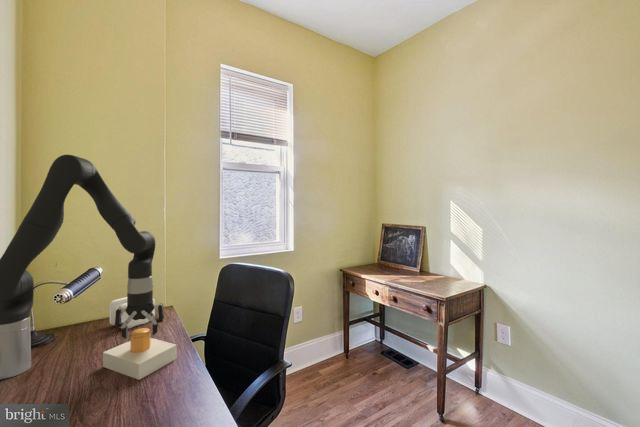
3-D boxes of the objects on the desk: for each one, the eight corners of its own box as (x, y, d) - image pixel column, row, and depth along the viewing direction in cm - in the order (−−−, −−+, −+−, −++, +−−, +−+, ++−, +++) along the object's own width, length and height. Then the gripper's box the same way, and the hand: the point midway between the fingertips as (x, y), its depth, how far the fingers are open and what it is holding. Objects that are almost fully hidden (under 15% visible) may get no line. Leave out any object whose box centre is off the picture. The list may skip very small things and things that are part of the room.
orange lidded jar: (138, 354, 99) (138, 336, 98) (127, 350, 101) (127, 333, 101) (153, 346, 104) (153, 329, 104) (143, 343, 106) (143, 327, 106)
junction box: (139, 379, 93) (138, 364, 92) (103, 366, 100) (103, 352, 100) (176, 358, 105) (176, 344, 105) (142, 348, 113) (142, 335, 112)
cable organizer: (144, 316, 145) (143, 292, 145) (155, 320, 139) (155, 296, 139) (109, 326, 132) (108, 301, 132) (120, 332, 127) (120, 305, 126)
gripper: (112, 294, 96) (112, 344, 96) (162, 290, 101) (161, 337, 101) (118, 288, 103) (118, 334, 103) (164, 285, 108) (164, 329, 108)
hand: (140, 336), depth 102 cm, fingers open, 8 cm apart
